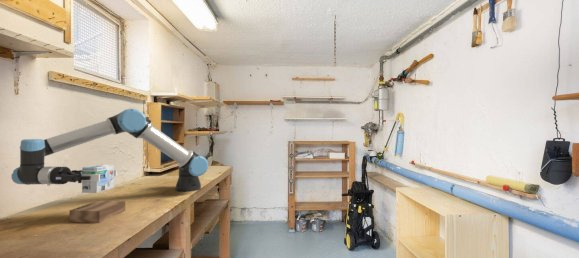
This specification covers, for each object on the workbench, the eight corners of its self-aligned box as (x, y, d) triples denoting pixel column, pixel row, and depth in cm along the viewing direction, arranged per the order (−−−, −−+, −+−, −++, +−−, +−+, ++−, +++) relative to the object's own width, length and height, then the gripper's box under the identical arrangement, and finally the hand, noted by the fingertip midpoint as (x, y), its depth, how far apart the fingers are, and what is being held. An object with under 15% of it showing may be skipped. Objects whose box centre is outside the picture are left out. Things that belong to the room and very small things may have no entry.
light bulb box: (96, 193, 108) (97, 167, 108) (80, 193, 108) (81, 167, 108) (114, 187, 119) (114, 164, 119) (100, 187, 119) (100, 164, 119)
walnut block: (125, 212, 121) (125, 201, 121) (99, 223, 106) (99, 211, 106) (98, 211, 122) (98, 200, 122) (69, 222, 107) (69, 210, 107)
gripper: (76, 179, 124) (123, 178, 125) (30, 190, 101) (89, 189, 102) (76, 163, 124) (123, 163, 126) (30, 170, 101) (89, 170, 102)
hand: (108, 175), depth 114 cm, fingers closed on light bulb box, 11 cm apart
